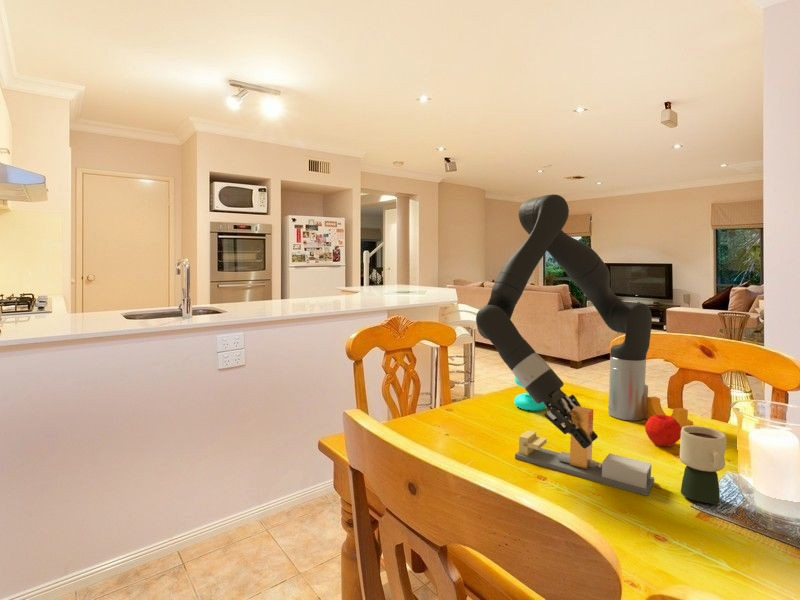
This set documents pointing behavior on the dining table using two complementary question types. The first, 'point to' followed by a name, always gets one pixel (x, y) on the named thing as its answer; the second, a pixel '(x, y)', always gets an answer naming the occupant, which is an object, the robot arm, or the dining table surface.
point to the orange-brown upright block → (577, 452)
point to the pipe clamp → (656, 409)
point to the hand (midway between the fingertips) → (591, 442)
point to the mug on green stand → (702, 462)
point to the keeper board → (613, 470)
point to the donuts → (527, 401)
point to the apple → (663, 430)
